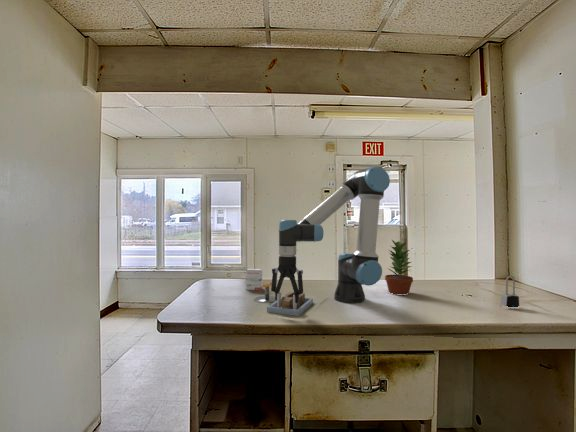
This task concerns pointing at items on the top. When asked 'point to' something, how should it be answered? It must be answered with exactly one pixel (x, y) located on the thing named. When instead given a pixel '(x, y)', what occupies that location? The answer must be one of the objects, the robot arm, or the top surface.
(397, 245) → the potted plant
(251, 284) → the ink box
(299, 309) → the tray
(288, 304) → the brown wooden forked piece
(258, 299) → the lid
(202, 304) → the top surface
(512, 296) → the padlock
